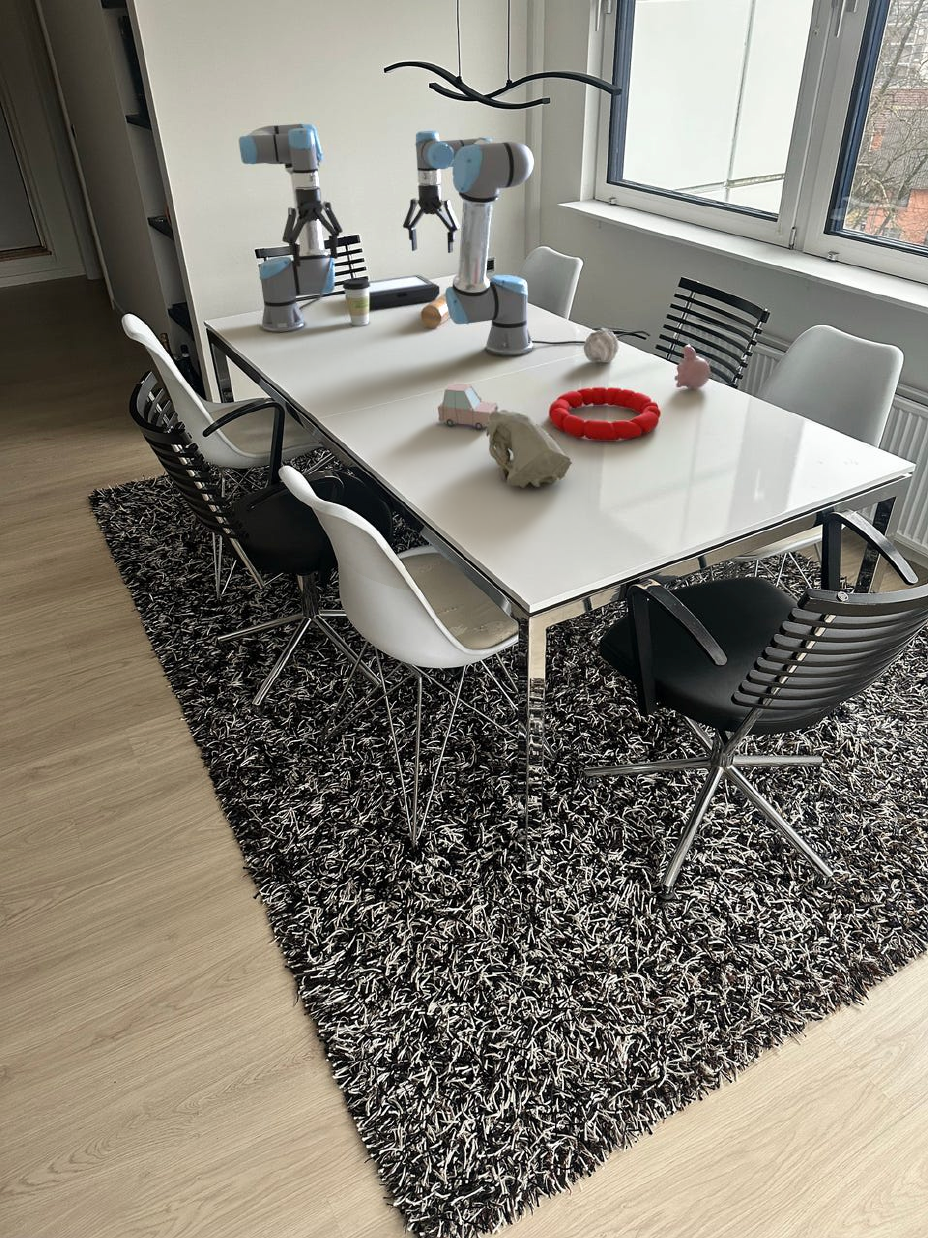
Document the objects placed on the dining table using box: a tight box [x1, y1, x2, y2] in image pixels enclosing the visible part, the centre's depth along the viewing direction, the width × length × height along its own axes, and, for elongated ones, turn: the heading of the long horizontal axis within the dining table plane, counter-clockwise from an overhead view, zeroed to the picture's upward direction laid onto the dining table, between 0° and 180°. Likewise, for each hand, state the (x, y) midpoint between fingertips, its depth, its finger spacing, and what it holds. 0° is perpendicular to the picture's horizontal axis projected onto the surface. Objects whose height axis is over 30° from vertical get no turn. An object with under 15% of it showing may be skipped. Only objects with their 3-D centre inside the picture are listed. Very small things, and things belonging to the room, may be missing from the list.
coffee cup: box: [342, 277, 370, 327], centre depth 323 cm, size 10×10×15 cm
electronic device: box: [368, 274, 440, 311], centre depth 349 cm, size 32×6×20 cm
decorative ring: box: [548, 386, 661, 442], centre depth 242 cm, size 7×30×30 cm
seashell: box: [582, 329, 620, 363], centre depth 282 cm, size 10×15×10 cm
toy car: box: [437, 382, 499, 431], centre depth 243 cm, size 9×15×10 cm, turn 70°
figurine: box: [674, 344, 711, 390], centre depth 259 cm, size 9×11×12 cm
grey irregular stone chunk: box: [485, 409, 573, 489], centre depth 216 cm, size 17×25×20 cm
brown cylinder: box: [420, 293, 451, 329], centre depth 328 cm, size 28×8×8 cm, turn 159°
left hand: (316, 261), depth 278 cm, fingers open, 13 cm apart
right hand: (432, 250), depth 309 cm, fingers open, 13 cm apart
